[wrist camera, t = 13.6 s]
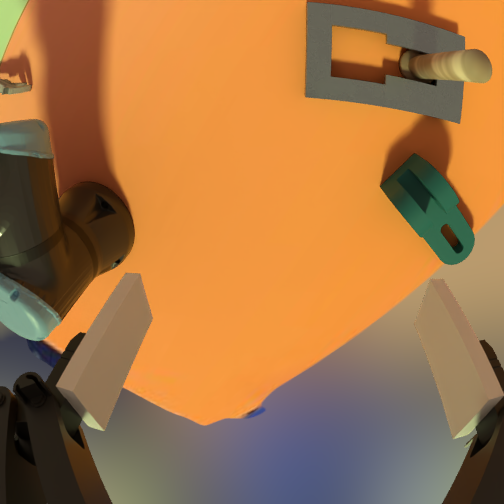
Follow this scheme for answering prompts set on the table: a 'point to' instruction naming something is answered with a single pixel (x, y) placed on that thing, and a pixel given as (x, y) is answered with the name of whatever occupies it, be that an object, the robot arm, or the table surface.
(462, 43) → the keyhole plate
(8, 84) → the caliper
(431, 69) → the peg
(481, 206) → the table surface
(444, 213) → the bracket
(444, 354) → the robot arm
